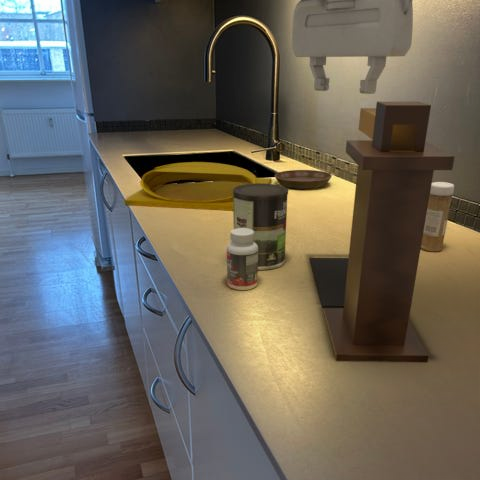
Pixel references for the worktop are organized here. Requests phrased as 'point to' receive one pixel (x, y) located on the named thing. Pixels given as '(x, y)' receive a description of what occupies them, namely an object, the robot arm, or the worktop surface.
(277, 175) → the plant saucer
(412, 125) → the brown and tan bar
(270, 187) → the coffee can
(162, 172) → the mold
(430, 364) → the worktop surface
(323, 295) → the mat
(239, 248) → the pill bottle
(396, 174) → the pedestal
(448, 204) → the spice jar
